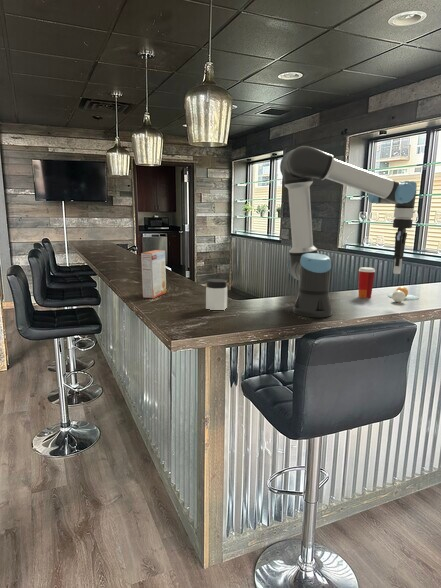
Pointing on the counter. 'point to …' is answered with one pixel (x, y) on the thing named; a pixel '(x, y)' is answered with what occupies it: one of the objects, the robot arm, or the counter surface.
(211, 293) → the jar
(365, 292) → the paper cup
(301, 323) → the counter surface
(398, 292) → the cue ball
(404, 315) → the counter surface
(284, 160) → the robot arm
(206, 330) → the counter surface
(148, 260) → the cracker box
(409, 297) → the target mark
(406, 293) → the object ball
